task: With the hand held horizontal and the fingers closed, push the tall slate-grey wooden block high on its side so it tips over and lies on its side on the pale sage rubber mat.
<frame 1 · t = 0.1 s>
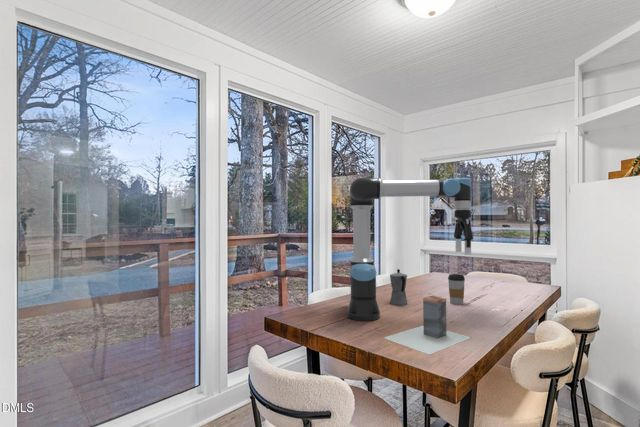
hand: (463, 253, 167), 28 cm above the table, tool pointing down, fingers open, 13 cm apart
coffeepot: (399, 304, 181), on the table
sage mat: (427, 339, 127), on the table
slate block: (435, 334, 130), resting on sage mat
coffee cup: (456, 304, 180), on the table
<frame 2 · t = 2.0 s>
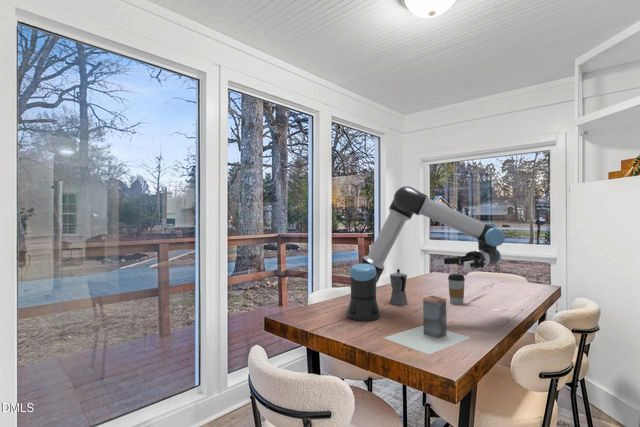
hand: (448, 264, 138), 26 cm above the table, tool horizontal, fingers open, 13 cm apart
nothing on the table moved.
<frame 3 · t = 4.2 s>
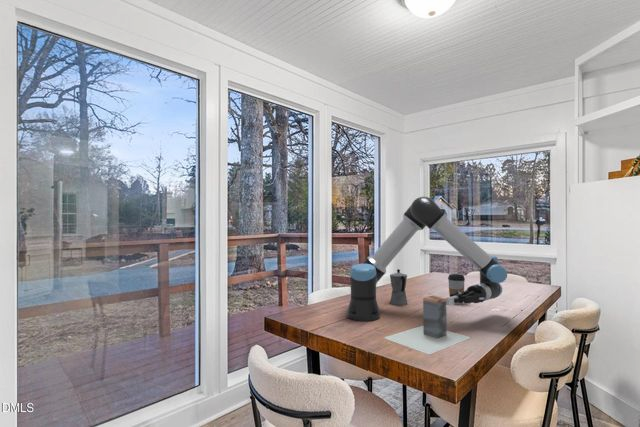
hand: (447, 301, 136), 12 cm above the table, tool horizontal, fingers closed
nothing on the table moved.
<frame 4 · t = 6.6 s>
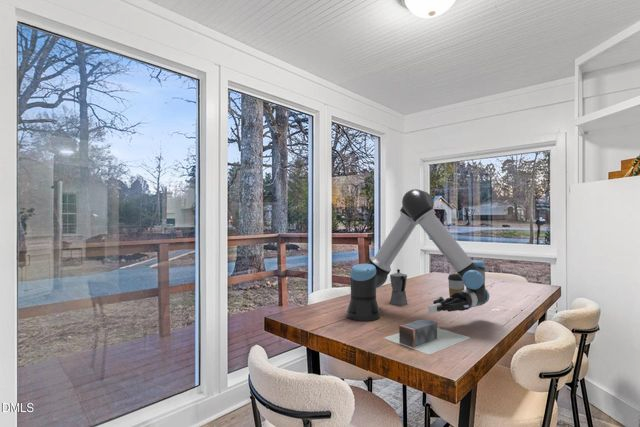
hand: (429, 309, 128), 11 cm above the table, tool horizontal, fingers closed
slate block: (430, 328, 129), point 3 cm above the table, tilted 90°, touching sage mat
everything else where it was.
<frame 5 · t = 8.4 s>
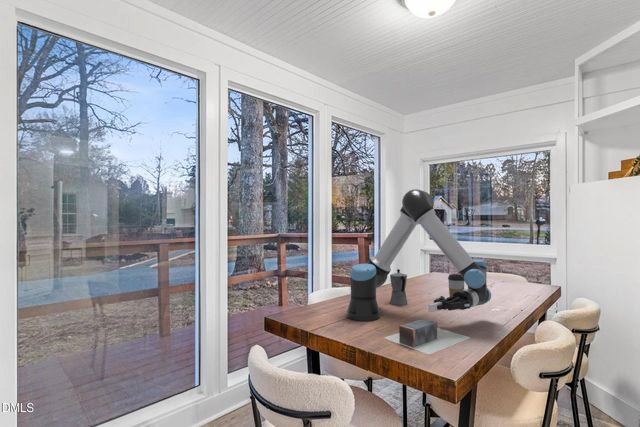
hand: (430, 308, 128), 11 cm above the table, tool horizontal, fingers closed
nothing on the table moved.
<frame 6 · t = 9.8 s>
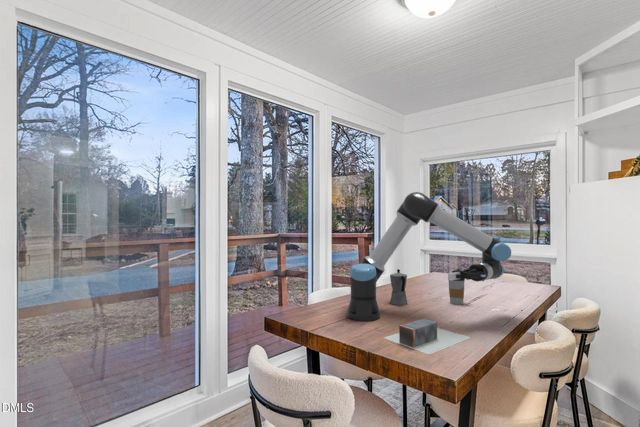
hand: (449, 276, 138), 21 cm above the table, tool horizontal, fingers closed
nothing on the table moved.
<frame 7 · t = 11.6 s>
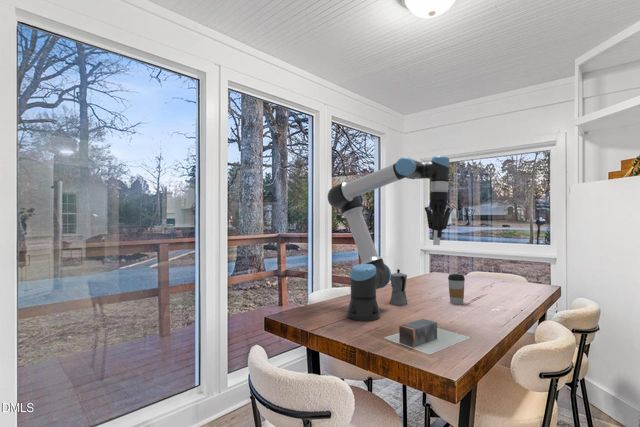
hand: (436, 244, 151), 33 cm above the table, tool pointing down, fingers closed
nothing on the table moved.
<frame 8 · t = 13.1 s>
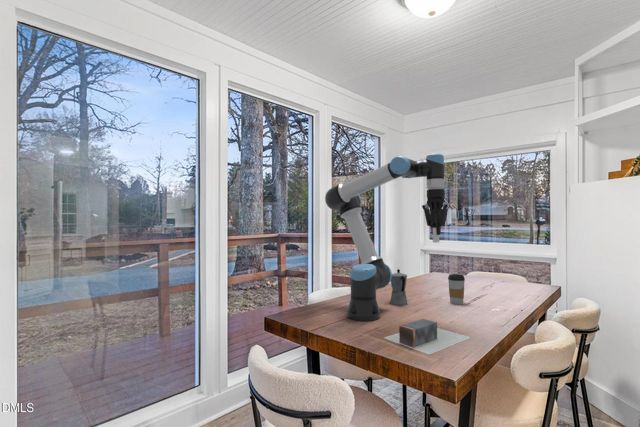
hand: (436, 242, 151), 34 cm above the table, tool pointing down, fingers closed
nothing on the table moved.
at the end: slate block tilted 90°; slate block touching sage mat; the gripper is holding nothing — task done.
